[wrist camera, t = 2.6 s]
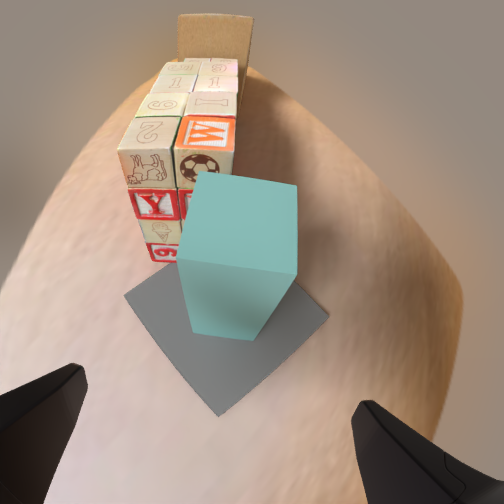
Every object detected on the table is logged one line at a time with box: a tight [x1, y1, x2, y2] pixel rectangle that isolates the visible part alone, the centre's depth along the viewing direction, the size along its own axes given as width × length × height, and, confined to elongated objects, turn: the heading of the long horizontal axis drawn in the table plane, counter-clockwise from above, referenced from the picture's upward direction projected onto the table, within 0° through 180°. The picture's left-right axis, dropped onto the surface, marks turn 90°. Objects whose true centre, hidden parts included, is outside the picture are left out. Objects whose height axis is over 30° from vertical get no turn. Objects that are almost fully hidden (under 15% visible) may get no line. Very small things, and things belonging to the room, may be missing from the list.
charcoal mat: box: [124, 263, 329, 417], centre depth 22 cm, size 12×12×1 cm
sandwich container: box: [178, 14, 254, 118], centre depth 33 cm, size 9×15×15 cm, turn 179°
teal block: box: [176, 171, 298, 341], centre depth 17 cm, size 5×5×12 cm
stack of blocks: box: [117, 58, 238, 263], centre depth 24 cm, size 21×6×12 cm, turn 0°
